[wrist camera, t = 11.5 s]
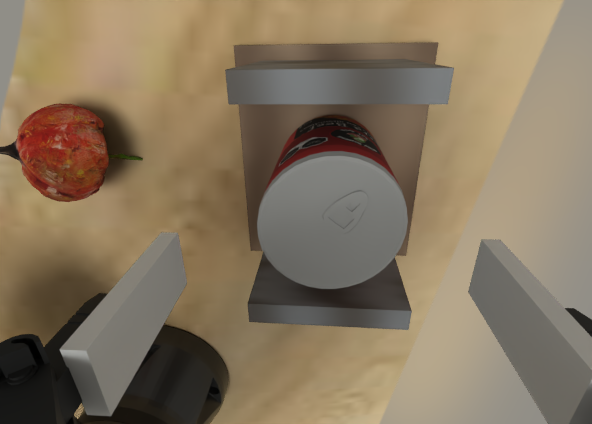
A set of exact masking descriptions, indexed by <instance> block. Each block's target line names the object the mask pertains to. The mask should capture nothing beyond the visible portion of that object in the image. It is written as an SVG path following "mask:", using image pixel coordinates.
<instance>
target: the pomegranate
mask: <svg viewBox="0 0 592 424" xmlns="http://www.w3.org/2000/svg"><path fill="white" fill-rule="evenodd" d="M103 129H104V123H103V122H102V120H101V119H100V118H98V117H97V116H96V115H95V114H94V113H92V112H91V111H88V110H87V109H84V108H81V107H77V106H75V105H72V104H54V105H50V106H47V107H44V108H41V109H40V110H38V111H36V112H34V113H32V114H31V115H30V116H29V117H27V118H26V119H25V121H24V122H23V123H22V125H21V126H20V128H19V129H18V137H17V139H16V141H15V142H14V143H12V144H11V145H8V146H5V147H0V154H5V155H9V156H11V157H13V158H15V159H17V160H19V161H20V162H21V164H22V172H23V174H24V176H25V177H26V178H27V180H28V181H29V182H30V183H31V184H32V186H33V187H35V188H36V189H37V190H39V191H40V192H41V194H42V195H44V196H45V197H48V198H50V199H53V200H56V201H64V202H70V201H77V200H81V199H84V198H87V197H89V196H90V195H93V194H94V193H96V192H98V191H99V188H100V186H102V184H103V182H104V179H105V176H104V174H105V171H106V169H107V167H108V165H109V159H110V158H116V159H130V160H143V159H142V158H140V157H136V156H127V155H125V154H118V155H111V154H108V152H107V144H106V142H105V138H104V135H103V133H102V131H103Z"/></svg>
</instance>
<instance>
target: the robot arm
mask: <svg viewBox="0 0 592 424" xmlns="http://www.w3.org/2000/svg"><path fill="white" fill-rule="evenodd" d="M186 284H187V280H186V274H185V269H184V263H183V258H182V252H181V247H180V241H179V236H178V233H163V232H161V233H160V235H159V236H158V237H157V238H156V239H155V240H154V241H153V243H152V244H151V245H150V246H149V247H148V248H147V249H146V251H145V252H144V253H143V254H142V255H141V256H140V257H139V259H138V260H137V261H136V262H135V263H134V264H133V266H132V267H131V268H130V269H129V270H128V271H127V272H126V274H125V275H124V276H123V277H122V278H121V279H120V280H119V282H118V283H117V284H116V285H115V286H114V287H113V289H112V290H111V291H110V292H109V293H108V294H103V293H99V294H98V295H96V296H95V297H93V298H92V299H90V300H89V301H87V302H86V303H85V304H84V305H83V306H82V307H81V308H80V309H79V310H78V311H77V312H76V315H73V317H72V318H71V319H70V320H69V321H68V323H67V324H65V325H64V326H63V327H62V328H61V329H60V331H59V332H58V333H57V334H56V335H55V336H54V337H53V338H52V339H51V340H50V341H49V342H48V343H47V345H46V346H45V347H43V345H42V343H41V341H40V339H39V337H38V336H36V335H33V334H24V335H19V336H15V337H12V338H9V339H7V340H5V341H3V342H1V343H0V424H210V423H211V422H212V420H213V419H214V417H215V416H216V414H217V413H218V412H219V410H220V408H221V406H222V404H223V401H224V397H225V394H226V391H227V387H228V380H229V379H228V372H227V369H226V366H225V364H224V362H223V361H222V359H221V358H220V356H219V355H218V354H217V353H216V352H215V351H214V350H213V349H212V348H211V347H210V346H209V345H208V344H206V343H205V342H204V341H202V340H201V339H199V338H197V337H196V336H194V335H192V334H189V333H187V332H185V331H182V330H179V329H176V328H172V327H167V326H163V324H164V323H165V321H166V319H167V317H168V316H169V314H170V312H171V310H172V309H173V307H174V305H175V303H176V302H177V300H178V298H179V296H180V295H181V293H182V291H183V289H184V288H185V286H186ZM468 292H469V294H470V296H471V297H472V299H473V301H474V302H475V304H476V306H477V307H478V309H479V311H480V312H481V314H482V315H483V317H484V319H485V320H486V322H487V324H488V325H489V327H490V329H491V330H492V332H493V334H494V335H495V337H496V339H497V340H498V342H499V344H500V345H501V347H502V348H503V350H504V352H505V353H506V355H507V357H508V358H509V360H510V362H511V363H512V365H513V367H514V368H515V370H516V371H517V373H518V375H519V377H520V378H521V380H522V381H523V383H524V385H525V386H526V388H527V390H528V391H529V393H530V395H531V396H532V398H533V400H534V401H535V403H536V404H537V406H538V408H539V410H540V411H541V413H542V414H543V416H544V418H545V420H546V421H547V423H548V424H592V320H591V319H590V318H588V317H587V316H585V315H583V314H582V313H580V312H579V311H577V310H576V309H574V308H564V307H563V306H562V305H561V304H560V303H559V302H558V301H557V300H556V299H555V298H554V296H553V295H552V294H551V293H550V292H549V291H548V290H547V289H546V288H545V287H544V286H543V285H542V284H541V283H540V282H539V280H538V279H537V278H536V277H535V276H534V275H533V274H532V273H531V272H530V271H529V270H528V269H527V268H526V267H525V266H524V265H523V264H522V262H521V261H520V260H519V259H518V258H517V257H516V256H515V255H514V254H513V253H512V252H511V251H510V250H509V249H508V247H507V246H506V245H505V244H504V243H503V242H502V241H501V240H485V239H482V240H481V243H480V247H479V252H478V255H477V259H476V263H475V267H474V271H473V275H472V279H471V283H470V287H469V291H468ZM81 403H82V404H83V407H84V410H83V412H82V414H81V415H80V417H79V419H77V418H76V417H74V413H75V411H76V410H77V409H78V407H79V406H80V404H81Z"/></svg>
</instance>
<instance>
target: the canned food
mask: <svg viewBox="0 0 592 424" xmlns="http://www.w3.org/2000/svg"><path fill="white" fill-rule="evenodd" d="M407 224H408V217H407V207H406V202H405V199H404V196H403V193H402V190H401V188H400V186H399V184H398V181H397V179H396V177H395V175H394V174H393V172H392V170H391V168H390V166H389V164H388V162H387V161H386V159H385V157H384V155H383V153H382V151H381V150H380V148H379V146H378V144H377V142H376V140H375V139H374V137H373V135H372V134H371V133H370V131H369V130H368V129H367V128H366V127H365V126H363V125H362V124H360V123H359V122H357V121H356V120H353V119H351V118H348V117H345V116H338V115H327V116H322V117H318V118H314V119H312V120H310V121H308V122H306V123H304V124H303V125H302V126H300V127H299V128H297V129H296V131H295V132H294V133H293V134H292V135H291V136H290V137H289V139H288V140H287V142H286V144H285V145H284V148H283V150H282V152H281V155H280V157H279V159H278V162H277V164H276V166H275V168H274V171H273V173H272V175H271V178H270V180H269V182H268V185H267V187H266V190H265V192H264V195H263V198H262V201H261V203H260V207H259V214H258V220H257V229H258V238H259V241H260V245H261V248H262V250H263V252H264V254H265V255H266V257H267V259H268V260H269V261H270V263H271V264H272V265H273V266H274V267H275V268H276V269H277V270H278V271H279V272H280V273H282V274H283V275H284V276H286V277H287V278H289V279H291V280H293V281H295V282H297V283H299V284H302V285H305V286H308V287H314V288H320V289H337V288H344V287H349V286H353V285H356V284H359V283H362V282H364V281H366V280H368V279H370V278H372V277H373V276H375V275H376V274H378V273H379V272H380V271H382V270H383V269H384V268H385V267H386V266H387V265H388V264H389V263H390V262H391V261H392V260H393V259H394V257H395V256H396V254H397V253H398V251H399V250H400V248H401V246H402V243H403V241H404V238H405V235H406V230H407Z"/></svg>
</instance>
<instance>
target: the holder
mask: <svg viewBox="0 0 592 424" xmlns="http://www.w3.org/2000/svg"><path fill="white" fill-rule="evenodd" d="M437 47H438V43H373V44H304V45H235V46H234V54H235V66H236V67H235V68H231V69H227V70H225V71H226V81H227V92H228V102H229V104H239V114H240V126H241V138H242V150H243V162H244V174H245V186H246V198H247V210H248V222H249V234H250V246H251V251H263V250H262V248H261V245H260V241H259V238H258V229H257V220H258V214H259V207H260V203H261V201H262V198H263V195H264V192H265V190H266V187H267V185H268V182H269V180H270V178H271V175H272V173H273V171H274V168H275V166H276V164H277V162H278V159H279V157H280V155H281V152H282V150H283V148H284V145H285V144H286V142H287V140H288V139H289V137H290V136H291V135H292V134H293V133H294V132H295V131H296V129H297V128H299V127H300V126H302V125H303V124H304V123H306V122H308V121H310V120H312V119H314V118H318V117H322V116H327V115H338V116H345V117H348V118H351V119H353V120H356V121H357V122H359V123H360V124H362V125H363V126H365V127H366V128H367V129H368V130H369V131H370V133H371V134H372V135H373V137H374V139H375V140H376V142H377V144H378V146H379V148H380V150H381V151H382V153H383V155H384V157H385V159H386V161H387V162H388V164H389V166H390V168H391V170H392V172H393V174H394V175H395V177H396V179H397V181H398V184H399V186H400V188H401V190H402V193H403V196H404V199H405V202H406V207H407V217H408V224H407V230H406V235H405V238H404V241H403V243H402V246H401V248H400V250H399V251H398V253H397V254H396V255H400V256H406V253H407V246H408V240H409V233H410V226H411V220H412V213H413V206H414V200H415V193H416V187H417V180H418V173H419V167H420V160H421V153H422V147H423V140H424V134H425V127H426V120H427V114H428V107H429V104H448V99H449V94H450V88H451V82H452V76H453V71H454V68H452V67H446V66H441V65H435V61H436V54H437ZM248 312H249V322H262V323H282V324H302V325H322V326H342V327H362V328H382V329H402V330H408V329H409V323H410V318H411V312H412V311H411V308H410V304H409V301H408V298H407V295H406V292H405V289H404V285H403V282H402V279H401V276H400V273H399V270H398V267H397V263H396V260H395V257H394V259H393V260H392V261H391V262H390V263H389V264H388V265H387V266H386V267H385V268H384V269H383V270H382V271H380V272H379V273H378V274H376V275H375V276H373V277H372V278H370V279H368V280H366V281H364V282H362V283H359V284H356V285H353V286H349V287H344V288H337V289H320V288H314V287H308V286H305V285H302V284H299V283H297V282H295V281H293V280H291V279H289V278H287V277H286V276H284V275H283V274H282V273H280V272H279V271H278V270H277V269H276V268H275V267H274V266H273V265H272V264H271V263H270V261H269V260H268V259H267V257H266V255H265V254H264V252H263V255H262V259H261V262H260V265H259V268H258V272H257V275H256V278H255V281H254V285H253V288H252V291H251V294H250V298H249V301H248Z"/></svg>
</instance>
